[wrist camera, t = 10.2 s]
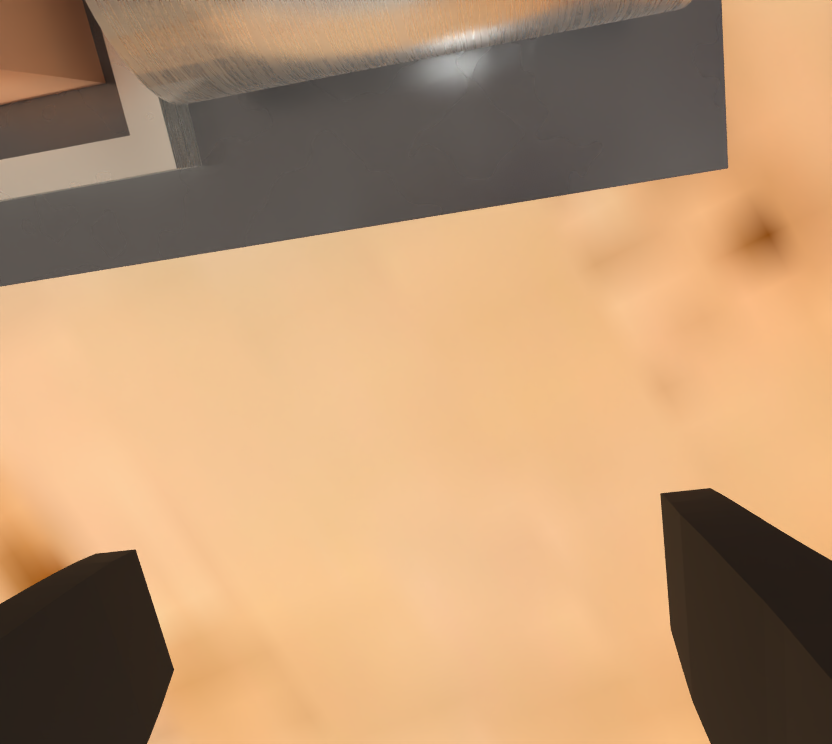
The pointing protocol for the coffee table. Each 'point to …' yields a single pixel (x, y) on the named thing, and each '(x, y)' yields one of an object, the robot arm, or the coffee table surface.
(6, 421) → the coffee table surface
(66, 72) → the cube with grey knob
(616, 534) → the coffee table surface
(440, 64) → the motor mount
